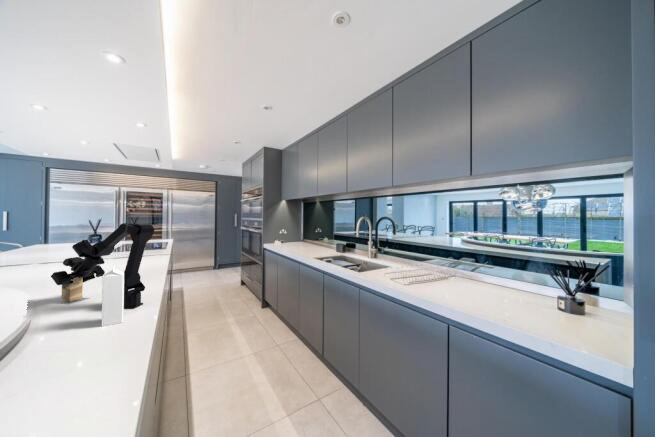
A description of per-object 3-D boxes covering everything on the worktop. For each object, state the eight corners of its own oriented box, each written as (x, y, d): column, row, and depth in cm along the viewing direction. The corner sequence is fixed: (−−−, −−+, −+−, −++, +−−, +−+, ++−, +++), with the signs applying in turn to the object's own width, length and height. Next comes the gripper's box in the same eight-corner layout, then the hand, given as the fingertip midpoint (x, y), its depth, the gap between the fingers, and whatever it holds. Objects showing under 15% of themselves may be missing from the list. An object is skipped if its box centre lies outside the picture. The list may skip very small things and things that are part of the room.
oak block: (82, 298, 118) (82, 273, 118) (69, 301, 113) (70, 275, 113) (74, 297, 119) (74, 272, 119) (61, 301, 114) (61, 275, 114)
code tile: (90, 299, 120) (90, 298, 120) (68, 305, 111) (68, 304, 111) (74, 298, 121) (74, 296, 121) (51, 304, 112) (51, 303, 112)
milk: (101, 326, 90) (101, 268, 90) (104, 321, 95) (104, 266, 95) (122, 322, 94) (123, 267, 94) (124, 317, 98) (124, 264, 98)
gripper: (100, 249, 125) (83, 269, 126) (54, 254, 106) (34, 278, 108) (112, 265, 123) (95, 285, 125) (68, 273, 105) (48, 296, 107)
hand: (70, 285), depth 116 cm, fingers closed on oak block, 5 cm apart
